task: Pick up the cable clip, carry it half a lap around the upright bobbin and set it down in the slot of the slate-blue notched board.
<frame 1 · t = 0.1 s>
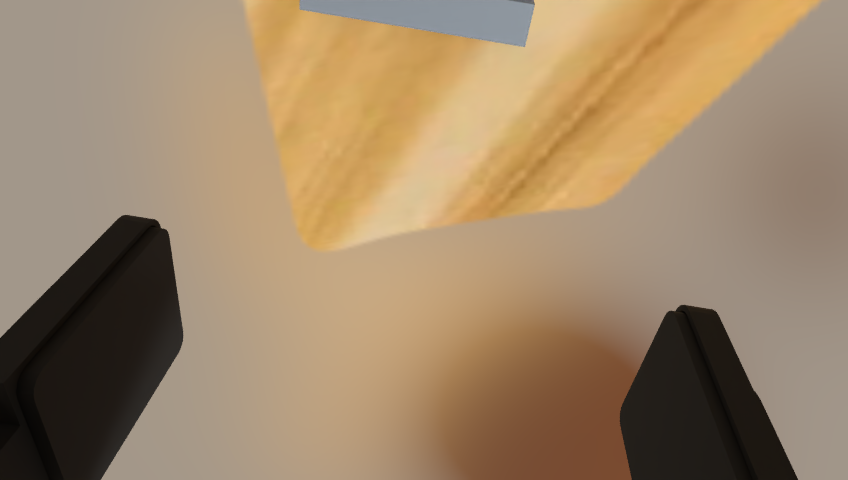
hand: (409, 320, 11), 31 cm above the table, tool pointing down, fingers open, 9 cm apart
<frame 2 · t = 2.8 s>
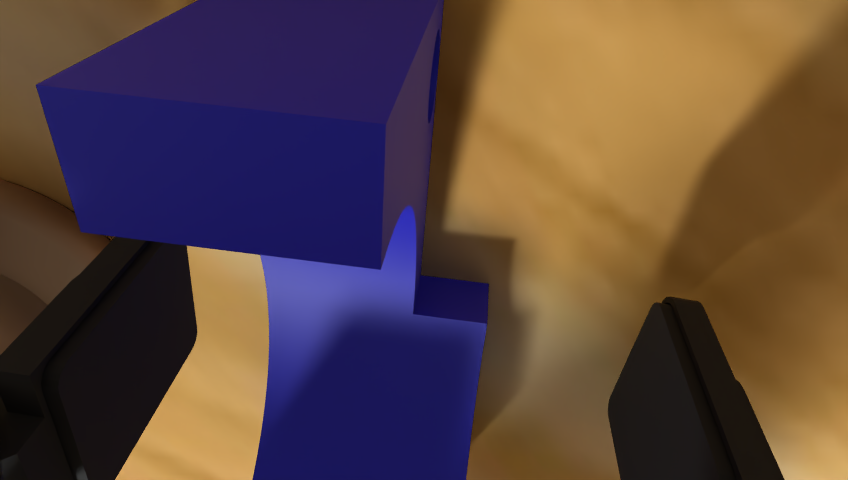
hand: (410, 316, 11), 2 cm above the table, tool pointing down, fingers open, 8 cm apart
bobbin: (23, 298, 15), on the table
cable clip: (389, 260, 13), on the table
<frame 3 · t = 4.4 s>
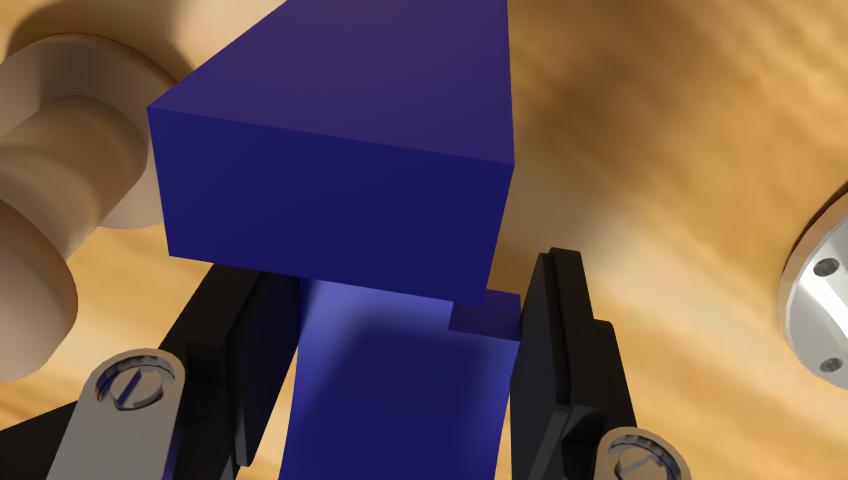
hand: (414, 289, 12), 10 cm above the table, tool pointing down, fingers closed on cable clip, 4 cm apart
bobbin: (107, 132, 21), on the table
cable clip: (420, 272, 13), point 9 cm above the table, touching gripper
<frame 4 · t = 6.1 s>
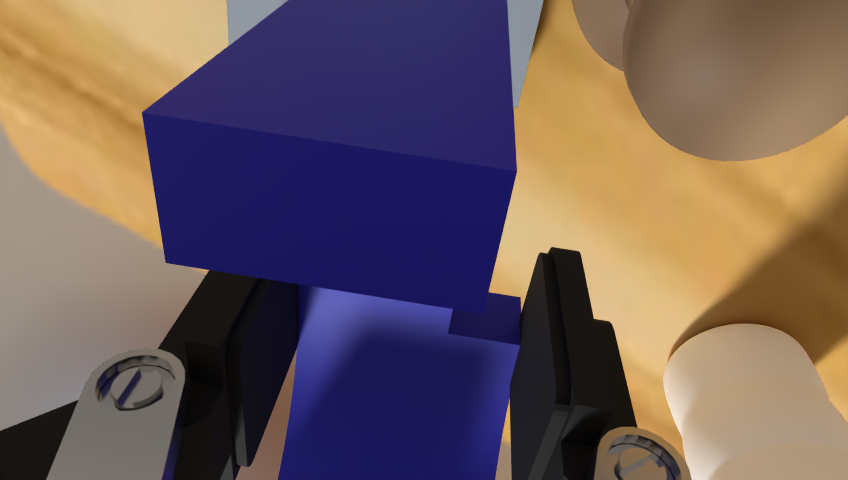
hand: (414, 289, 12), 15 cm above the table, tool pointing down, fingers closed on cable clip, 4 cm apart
water bottle: (728, 363, 32), on the table
cable clip: (419, 275, 13), point 13 cm above the table, touching gripper
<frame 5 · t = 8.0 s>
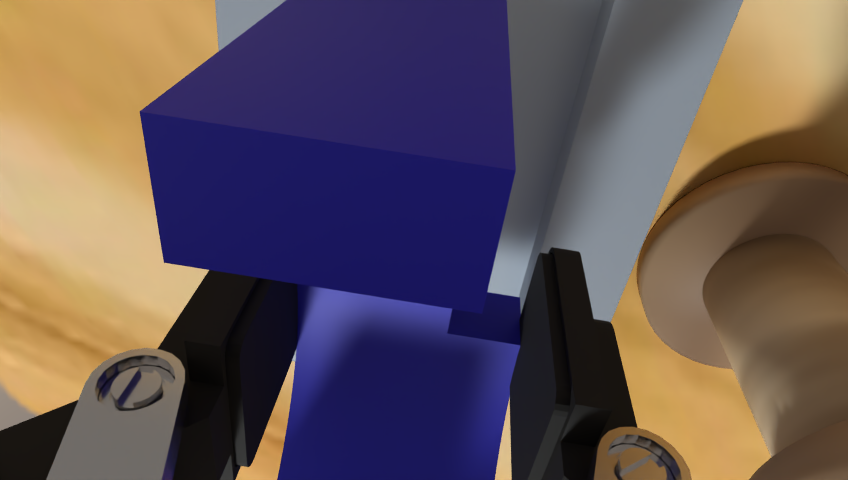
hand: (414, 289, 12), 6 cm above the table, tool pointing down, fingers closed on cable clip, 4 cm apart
bobbin: (755, 264, 18), on the table
cable clip: (419, 275, 13), point 5 cm above the table, touching gripper
notched board: (443, 154, 17), on the table
when the fingers open (3 cm above the table, at t = 9.0 s): cable clip stays where it is, resting on notched board.
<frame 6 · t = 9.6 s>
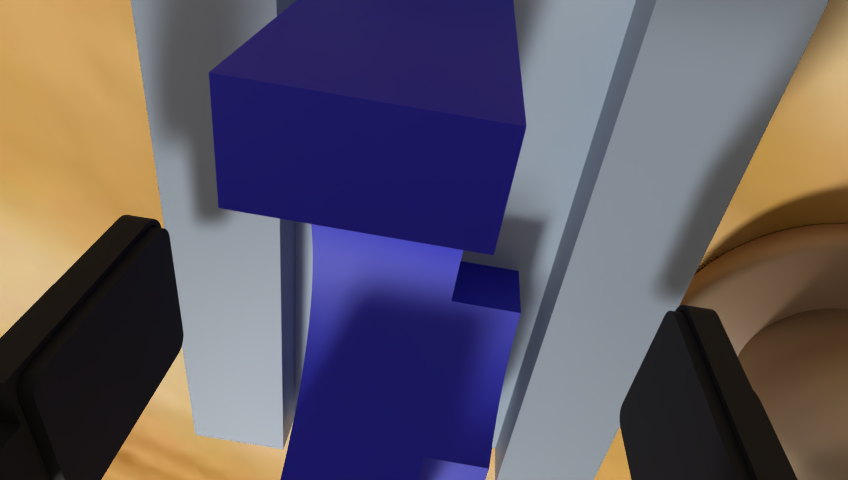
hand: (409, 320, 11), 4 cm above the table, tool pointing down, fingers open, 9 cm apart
bobbin: (795, 335, 16), on the table
cable clip: (424, 249, 14), point 1 cm above the table, touching notched board
notched board: (429, 211, 15), on the table
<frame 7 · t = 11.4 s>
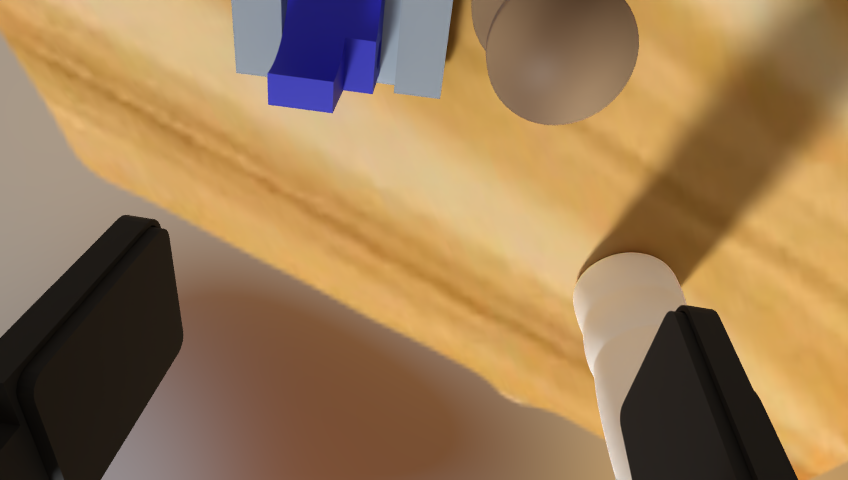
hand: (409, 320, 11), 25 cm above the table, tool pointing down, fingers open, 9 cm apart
water bottle: (621, 286, 42), on the table
bobbin: (538, 2, 31), on the table
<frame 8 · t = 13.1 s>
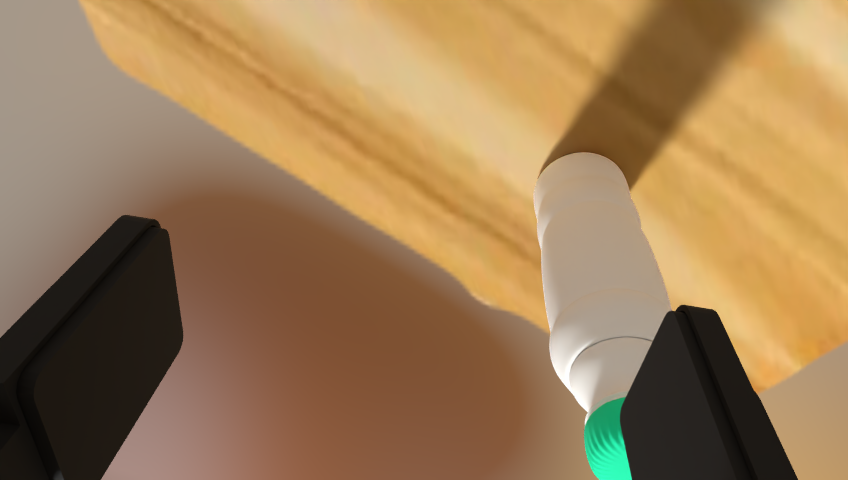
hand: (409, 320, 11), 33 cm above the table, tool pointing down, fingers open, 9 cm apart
water bottle: (578, 188, 47), on the table
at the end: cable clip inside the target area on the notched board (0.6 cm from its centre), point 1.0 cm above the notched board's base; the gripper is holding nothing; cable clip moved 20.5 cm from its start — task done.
